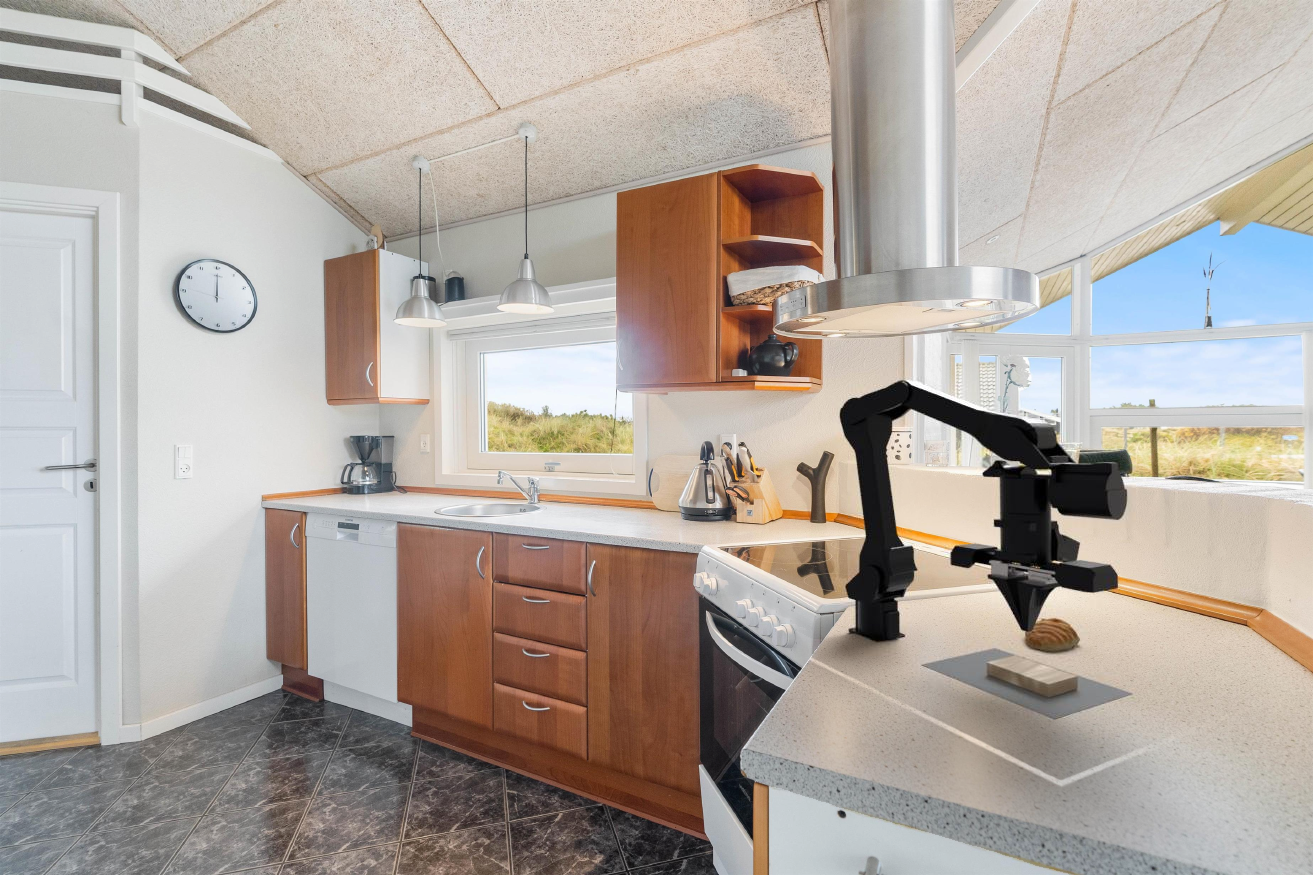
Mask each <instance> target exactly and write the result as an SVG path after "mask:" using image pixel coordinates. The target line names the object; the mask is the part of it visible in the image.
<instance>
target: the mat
mask: <svg viewBox="0 0 1313 875" xmlns="http://www.w3.org/2000/svg"><path fill="white" fill-rule="evenodd" d="M1011 656H1018V657H1021V658H1024V659H1027V660H1030V661H1033V662H1036V663H1039V664H1042V665H1045V666H1048V667H1051V668H1054V669H1057V670H1060V671H1064V672H1067V673H1070V674H1073V675H1076V676H1077V680H1078V689H1075V690H1072V691H1069V692H1065V693H1062V694H1058V695H1055V696H1052V697H1046V696H1043V695H1041V694H1038V693H1035V692H1033V691H1030V690H1028V689H1025V688H1022V687H1020V686H1017V685H1014V684H1012V683H1009V682H1006V681H1004V680H1001V679H998V678H996V677H993V676H990V675H988V674H987V662H990V661H994V660H998V659H1003V658H1007V657H1011ZM921 666H922V667H925V668H927V669H930V670H932V671H935V672H937V673H940V674H942V675H945V676H946V677H950V678H952V679H955V680H956V681H959V682H962V683H964V684H966V685H969V686H972V687H973V688H976V689H979V690H981V691H984V692H986V693H989V694H991V695H994V696H996V697H999V698H1000V699H1003V700H1006V701H1009V702H1011V703H1014V704H1016V705H1018V706H1021V707H1023V708H1025V709H1029V710H1031V711H1032V712H1036V713H1038V714H1041V715H1043V716H1045V717H1048V718H1050V719H1053V720H1057V719H1061V718H1063V717H1067V716H1069V715H1072V714H1075V713H1079V712H1081V711H1085V710H1088V709H1091V708H1094V707H1098V706H1100V705H1103V704H1106V703H1109V702H1112V701H1115V700H1119V699H1121V698H1124V697H1128V696H1131V695H1133V692H1131V691H1130V692H1129V691H1126V690H1124V689H1121V688H1117V687H1114V686H1111V685H1108V684H1105V683H1103V682H1100V681H1097V680H1093V679H1091V678H1090V679H1089V678H1086V677H1083V676H1081V675H1077V674H1075V673H1071V672H1068V671H1065V670H1063V669H1060V668H1057V667H1054V666H1051V665H1047V664H1045V663H1042V662H1038V661H1035V660H1032V659H1029V658H1026V657H1024V656H1020V655H1017V654H1014V653H1010V652H1007V651H1006V650H1001V649H999V648H996V647H995V648H989V649H984V650H980V651H977V652H976V651H975V652H971V653H967V654H963V655H957V656H953V657H949V658H945V659H940V660H935V661H931V662H927V663H921Z"/></svg>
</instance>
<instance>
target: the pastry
mask: <svg viewBox="0 0 1313 875" xmlns="http://www.w3.org/2000/svg"><path fill="white" fill-rule="evenodd" d="M1024 637H1025V643H1026V645H1027V646H1028V647H1030V648H1031V649H1035V650H1036V649H1037V650H1041V651H1045V652H1059V651H1065V650H1070V649H1072V648H1073V647H1077V645H1078V644H1079V643H1080V641H1081V639H1080V636H1079V635H1078V632H1076V630H1075V628H1074V627H1072V626H1071V624H1070V623H1069V622H1067V621H1065V620H1063V619H1060V618H1055V617H1051V618H1041V619H1040V620H1038V621H1036V623H1035V626H1034V628H1033V630H1032V631H1031V632H1026V631H1024Z"/></svg>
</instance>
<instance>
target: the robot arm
mask: <svg viewBox="0 0 1313 875" xmlns="http://www.w3.org/2000/svg"><path fill="white" fill-rule="evenodd" d="M911 410H912V411H914V412H917V413H920V414H922V415H924V416H927V417H929V418H932V419H933V420H935V421H938V422H940V423H943V424H945V425H948V426H950V427H953V428H954V429H957V430H959V431H962V432H964V433H966V434H969V435H970V436H971V437H973V438H974V439H975V440H976V441H977V442H978V443H979V444H980V445H981V446H983V448H985V449H987V450H988V451H990V452H991V453H992V454H994V455H996V456H997V457H999V458H1001V459H996V460H994V462H993V463H992V464H991V466H989V467H988V468H987V469H985V470H984V471H983V472H982V476H983V477H984V478H999V518H993V527H994V528H999V529H1000V530H999V531H1000V534H999V536H1000V539H999V540H1000V549H999V548H998V547H997V546H994V545H987V544H981V543H968V544H967V543H966V544H958V545H954V546H953V548H952V549H951V551H950V553H949V554H950V555H949V560H950V561H949V563H950V565H951V566H954V567H958V568H964V569H971V568H972V567H973V566H974V565H975V564H980V565H985V566H990V573H989V574H987V579H988V580H991V581H993V582H994V584H995V585H996V587H997V589H998V590H999V592H1000V594H1001V595H1002V596H1003V598H1004V600H1005V602H1006V603H1007V605H1008V607H1009V609H1010V611H1011V613H1012V614H1013V616H1014V619H1015V620H1016V623H1017V624H1018V627H1019V628H1020V630H1021V631H1023V632H1031V631H1032V630H1033V628H1034V626H1035V623H1036V622H1037V620H1038V618H1039V616H1040V614H1041V611H1042V609H1043V607H1044V604H1045V603H1046V600H1047V599H1048V597H1050V596H1049V595H1050V594H1051V593H1052V592H1053V591H1054V590H1055V589H1056V588H1062V589H1067V590H1072V591H1077V592H1082V593H1091V594H1092V593H1093V594H1095V593H1101V592H1105V591H1112V590H1116V589H1119V576H1118V573H1117V571H1116V570H1115V568H1114V567H1113V566H1112V565H1111V564H1109V563H1101V562H1094V561H1088V560H1082V559H1079V560H1078V558H1079V553H1080V552H1079V551H1080V546H1081V542H1079V541H1078V540H1076V539H1074V538H1071V537H1070V536H1067V535H1066V534H1061V533H1060V528H1059V527H1060V526H1059V523H1058V520H1052V509H1057V510H1056V511H1057V512H1058V514H1060V515H1061V516H1065V517H1067V516H1068V517H1075V518H1076V517H1078V518H1088V519H1102V520H1111V521H1119V520H1121V519H1122V518H1123V516H1124V515H1125V513H1126V508H1127V504H1128V503H1127V502H1128V490H1127V488H1125V482H1124V479H1123V478H1122V475H1121V474H1120V473H1119V464H1118V463H1117V462H1110V461H1109V462H1105V461H1104V462H1095V463H1077V462H1076V461H1075V460H1074V458H1072V457H1071V455H1070V454H1069V453H1068V452H1067V451H1066V450H1065V448H1064V447H1062V445H1061V444H1060V443H1059V442H1058V440H1057V433H1056V430H1055V428H1054V426H1053V425H1052V424H1050V423H1049V422H1047V421H1046V420H1043V419H1040V418H1034V417H1030V416H1023V415H1019V414H1011V413H1008V412H1007V413H1006V412H1002V411H1001V412H1000V411H996V410H995V411H994V410H990V409H987V408H984V407H982V406H979V405H976V404H973V403H971V402H969V401H967V400H963V399H961V398H959V397H955V396H952V395H949V394H947V393H945V392H942V391H940V390H936V389H933V388H931V387H928V386H926V385H924V384H923V383H922V382H920V381H916V380H915V381H913V380H905V379H903V380H897V381H895V382H893V383H891V384H890V385H888V386H886V387H884V388H880V389H878V390H875V391H871V392H869V393H866V394H864V395H861V396H860V397H851V398H849V399H847V400H846V401H845V402H844V404H843V405H842V407H841V408H840V409H839V422H840V424H841V428H842V431H843V432H842V433H843V436H844V438H845V439H846V440H847V443H848V444H849V445H850V446H851V448H852V449H853V452H854V454H855V461H856V469H857V477H858V484H859V485H858V486H859V492H860V501H861V509H862V516H863V517H862V518H863V524H864V532H865V533H864V534H865V538H864V541H863V544H862V547H861V550H860V553H859V555H858V556H859V557H858V560H859V561H858V563H859V564H858V573H856V574H855V576H853V577H852V578H851V579H850V580H849V581H848V582H847V583H846V584H845V590H846V594H847V598H848V599H849V600H854V601H855V603H854V604H855V605H854V606H855V610H854V612H855V616H854V617H855V619H854V620H855V621H854V622H855V625H854V626H855V627H851V628H849V627H848V630H847V631H848V633H850V634H855V635H858V636H859V637H860V636H861V637H863V638H865V639H868V640H870V641H872V642H876V643H881V642H885V641H890V640H895V639H901V638H906V634H905V633H901V631H900V630H901V628H900V620H901V619H900V616H901V615H900V614H901V613H900V611H899V603H898V600H896V599H897V598H904V597H905V596H906V595H905V594H906V591H907V589H908V587H910V586H911V584H912V583H913V582H914V580H915V572H917V571H918V568H917V566H916V563H915V549H914V545H912V544H911V545H905V544H904V543H903V542H902V540H901V538H900V537H899V535H898V528H897V520H896V516H895V509H894V500H893V493H892V484H891V477H890V469H889V462H888V456H887V447H888V444H889V442H890V439H891V436H892V434H893V422H894V421H896V420H898V419H900V418H902V417H904V416H905V415H906V414H908V412H910V411H911ZM1007 461H1009V462H1019V463H1020V464H1022V465H1010V464H1009V463H1008V462H1007ZM1037 470H1038V471H1039V470H1043V471H1044V470H1045V471H1046V470H1048V471H1049V470H1050V472H1051V473H1050V474H1049V473H1048V474H1045V473H1038V472H1037ZM1058 562H1059V563H1058Z"/></svg>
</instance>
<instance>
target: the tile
mask: <svg viewBox="0 0 1313 875" xmlns="http://www.w3.org/2000/svg"><path fill="white" fill-rule="evenodd" d="M1018 656H1019V655H1017V656H1011V657H1007V658H1003V659H998V660H994V661H990V662H987V674H988V675H990V676H993V677H996V678H998V679H1001V680H1004V681H1006V682H1009V683H1012V684H1014V685H1017V686H1020V687H1022V688H1025V689H1028V690H1030V691H1033V692H1035V693H1038V694H1041V695H1043V696H1046V697H1052V696H1055V695H1058V694H1062V693H1065V692H1069V691H1072V690H1075V689H1078V680H1077V676H1076V675H1077V674H1075V675H1073V674H1074V673H1072V674H1070V673H1071V672H1069V673H1067V672H1068V671H1066V672H1064V671H1065V670H1063V671H1060V670H1061V669H1060V670H1057V669H1058V668H1057V669H1054V668H1055V667H1054V668H1051V667H1052V666H1051V667H1048V666H1049V665H1048V666H1045V665H1046V664H1045V665H1042V664H1043V663H1042V664H1039V663H1040V662H1039V663H1036V662H1037V661H1036V662H1033V661H1034V660H1033V661H1030V660H1031V659H1030V660H1027V659H1028V658H1026V659H1024V658H1025V657H1023V658H1021V657H1022V656H1020V657H1018Z"/></svg>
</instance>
